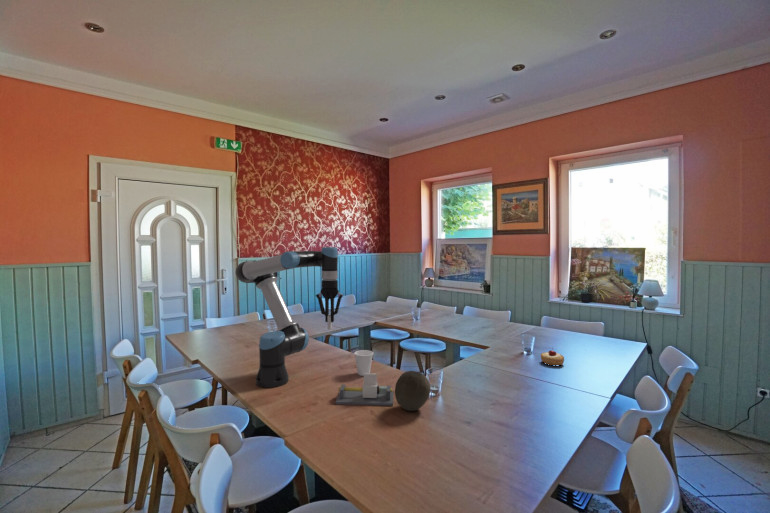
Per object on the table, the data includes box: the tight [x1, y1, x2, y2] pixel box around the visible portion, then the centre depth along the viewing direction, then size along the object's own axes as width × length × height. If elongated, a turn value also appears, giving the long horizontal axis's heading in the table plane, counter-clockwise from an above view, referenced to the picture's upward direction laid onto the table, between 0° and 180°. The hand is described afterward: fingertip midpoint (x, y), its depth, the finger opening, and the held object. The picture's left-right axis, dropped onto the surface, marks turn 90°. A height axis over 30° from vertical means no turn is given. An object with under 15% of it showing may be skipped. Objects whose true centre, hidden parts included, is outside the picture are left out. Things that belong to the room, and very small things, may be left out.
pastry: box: [540, 347, 565, 366], centre depth 201 cm, size 12×12×9 cm
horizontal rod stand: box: [334, 384, 395, 407], centre depth 154 cm, size 24×12×6 cm, turn 87°
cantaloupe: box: [394, 370, 431, 412], centre depth 145 cm, size 14×14×15 cm
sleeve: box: [362, 372, 379, 398], centre depth 154 cm, size 6×5×10 cm
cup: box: [353, 349, 374, 377], centre depth 184 cm, size 10×10×11 cm
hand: (329, 328), depth 170 cm, fingers closed
